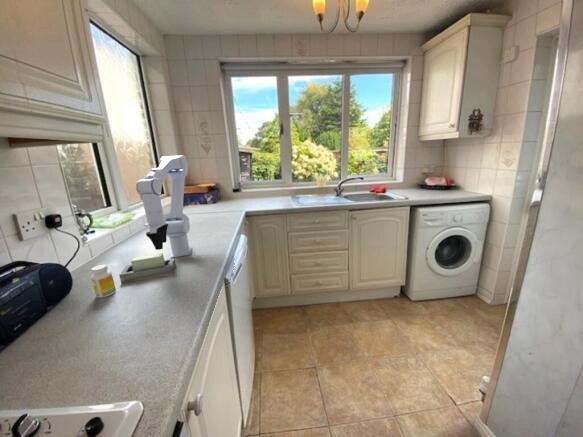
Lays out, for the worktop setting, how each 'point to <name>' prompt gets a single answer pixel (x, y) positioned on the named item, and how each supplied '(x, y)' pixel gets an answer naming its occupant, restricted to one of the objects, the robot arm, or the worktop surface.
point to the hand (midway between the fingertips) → (161, 245)
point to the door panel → (148, 262)
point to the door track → (147, 272)
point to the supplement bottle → (102, 281)
